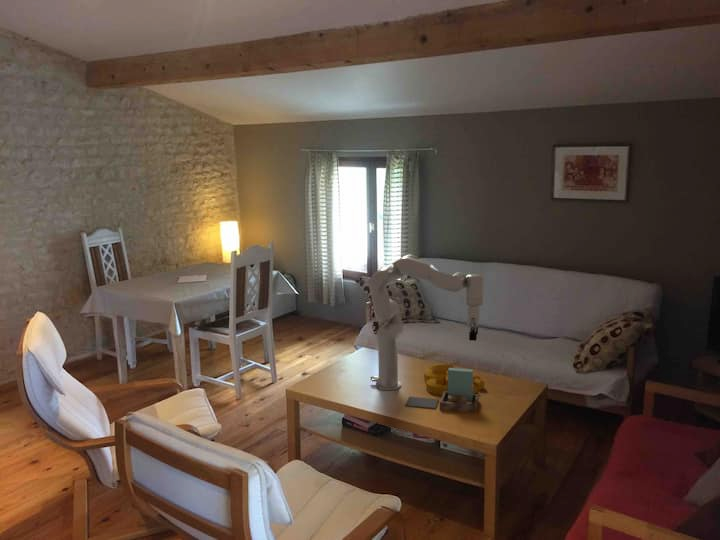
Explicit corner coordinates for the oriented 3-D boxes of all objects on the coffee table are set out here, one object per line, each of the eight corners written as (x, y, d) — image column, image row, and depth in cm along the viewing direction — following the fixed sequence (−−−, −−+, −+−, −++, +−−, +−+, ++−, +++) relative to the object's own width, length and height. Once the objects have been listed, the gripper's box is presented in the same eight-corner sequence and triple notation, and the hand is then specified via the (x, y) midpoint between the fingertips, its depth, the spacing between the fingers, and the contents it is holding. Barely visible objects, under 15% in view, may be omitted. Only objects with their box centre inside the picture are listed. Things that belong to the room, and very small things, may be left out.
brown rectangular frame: (439, 409, 275) (439, 402, 274) (443, 398, 287) (443, 391, 286) (475, 413, 271) (475, 405, 270) (478, 401, 283) (478, 394, 282)
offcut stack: (446, 408, 277) (446, 397, 276) (447, 405, 280) (447, 394, 279) (471, 410, 274) (471, 400, 273) (472, 407, 277) (472, 397, 276)
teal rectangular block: (447, 402, 282) (448, 370, 279) (448, 400, 285) (449, 367, 282) (471, 405, 279) (472, 371, 276) (472, 402, 282) (473, 369, 279)
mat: (404, 406, 279) (404, 404, 279) (409, 397, 289) (409, 396, 289) (435, 409, 275) (435, 407, 275) (438, 400, 285) (438, 399, 285)
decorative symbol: (426, 363, 321) (484, 366, 315) (426, 372, 322) (484, 375, 316) (420, 384, 292) (484, 387, 286) (420, 394, 293) (484, 398, 287)
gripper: (467, 296, 288) (466, 331, 291) (464, 305, 271) (463, 342, 274) (483, 297, 286) (482, 332, 289) (481, 306, 269) (480, 343, 273)
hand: (473, 337), depth 282 cm, fingers open, 9 cm apart
